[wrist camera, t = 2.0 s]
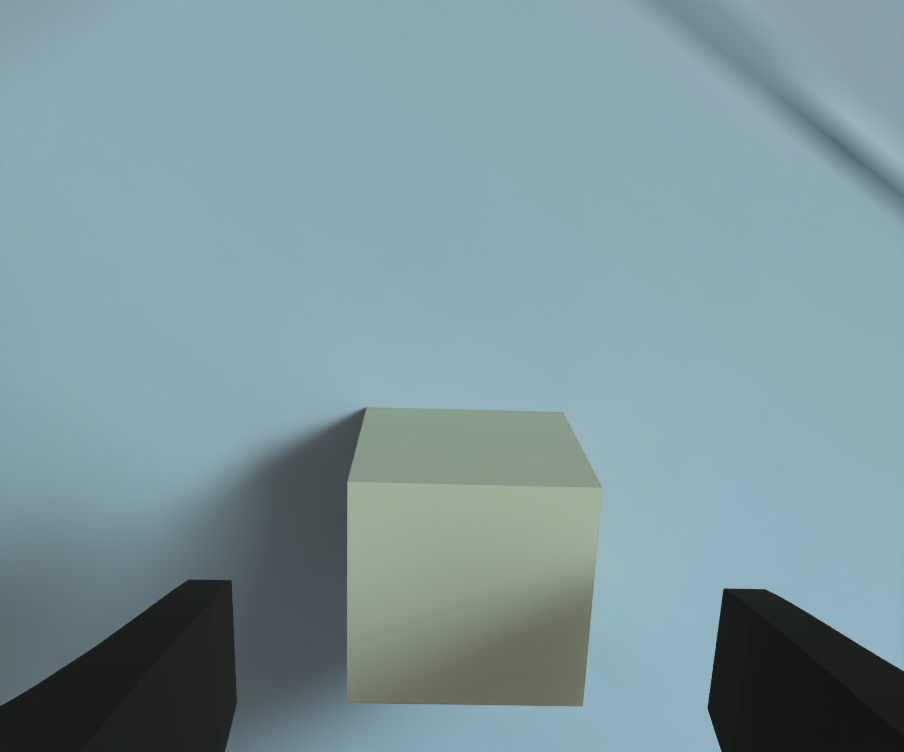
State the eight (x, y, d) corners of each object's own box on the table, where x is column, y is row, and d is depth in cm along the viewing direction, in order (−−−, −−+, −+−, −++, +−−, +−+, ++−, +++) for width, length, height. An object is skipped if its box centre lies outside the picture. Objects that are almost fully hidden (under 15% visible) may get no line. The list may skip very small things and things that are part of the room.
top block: (549, 586, 18) (582, 706, 14) (365, 582, 18) (347, 702, 14) (562, 411, 17) (602, 487, 13) (366, 406, 16) (347, 481, 13)
